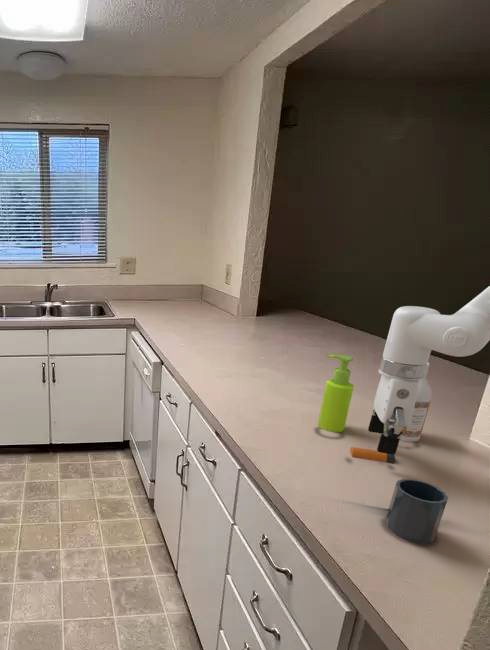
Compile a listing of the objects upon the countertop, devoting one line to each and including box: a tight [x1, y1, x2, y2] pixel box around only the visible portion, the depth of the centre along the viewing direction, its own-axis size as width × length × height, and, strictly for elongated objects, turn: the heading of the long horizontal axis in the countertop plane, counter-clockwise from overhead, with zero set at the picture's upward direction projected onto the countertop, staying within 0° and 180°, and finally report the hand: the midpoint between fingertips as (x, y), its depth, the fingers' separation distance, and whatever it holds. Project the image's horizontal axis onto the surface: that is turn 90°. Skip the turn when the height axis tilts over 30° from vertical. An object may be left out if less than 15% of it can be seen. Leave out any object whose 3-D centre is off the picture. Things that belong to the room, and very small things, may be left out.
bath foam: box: [388, 362, 432, 443], centre depth 103 cm, size 7×7×20 cm
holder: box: [385, 478, 449, 544], centre depth 74 cm, size 7×7×8 cm
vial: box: [349, 446, 396, 465], centre depth 96 cm, size 8×3×3 cm, turn 68°
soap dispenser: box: [317, 353, 355, 433], centre depth 107 cm, size 6×7×20 cm
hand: (380, 442), depth 94 cm, fingers open, 9 cm apart
